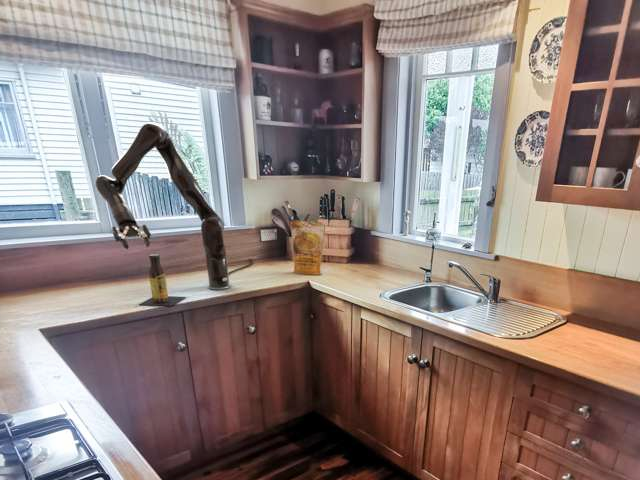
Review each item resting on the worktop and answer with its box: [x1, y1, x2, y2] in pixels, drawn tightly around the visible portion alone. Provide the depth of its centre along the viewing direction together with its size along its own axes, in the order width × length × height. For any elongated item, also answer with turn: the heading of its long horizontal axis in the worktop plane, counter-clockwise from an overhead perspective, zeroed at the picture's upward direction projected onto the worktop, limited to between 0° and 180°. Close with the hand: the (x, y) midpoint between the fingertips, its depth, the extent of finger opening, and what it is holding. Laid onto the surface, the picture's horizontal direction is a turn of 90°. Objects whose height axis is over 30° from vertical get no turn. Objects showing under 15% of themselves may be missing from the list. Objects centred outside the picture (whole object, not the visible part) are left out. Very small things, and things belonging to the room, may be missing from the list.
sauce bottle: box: [148, 253, 169, 303], centre depth 198 cm, size 7×6×20 cm
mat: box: [139, 295, 186, 308], centre depth 203 cm, size 14×14×1 cm
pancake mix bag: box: [289, 219, 326, 276], centre depth 255 cm, size 7×19×28 cm, turn 74°
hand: (138, 246), depth 201 cm, fingers open, 8 cm apart
